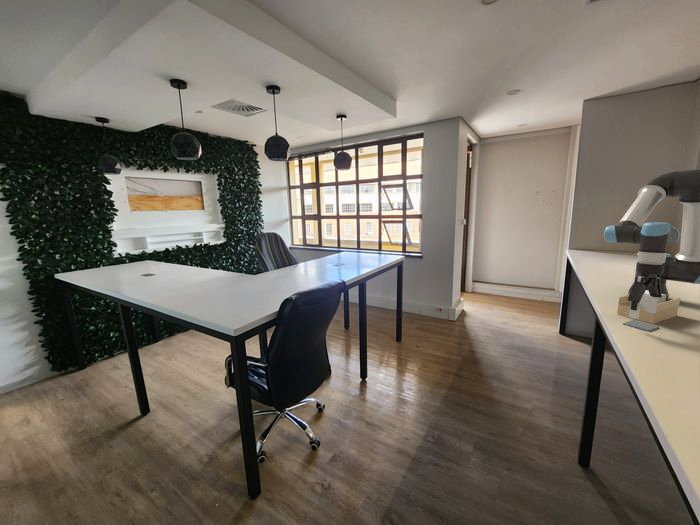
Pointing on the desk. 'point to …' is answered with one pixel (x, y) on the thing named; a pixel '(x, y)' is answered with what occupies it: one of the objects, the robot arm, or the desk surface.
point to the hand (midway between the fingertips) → (642, 315)
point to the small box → (645, 300)
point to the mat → (641, 325)
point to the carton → (662, 312)
